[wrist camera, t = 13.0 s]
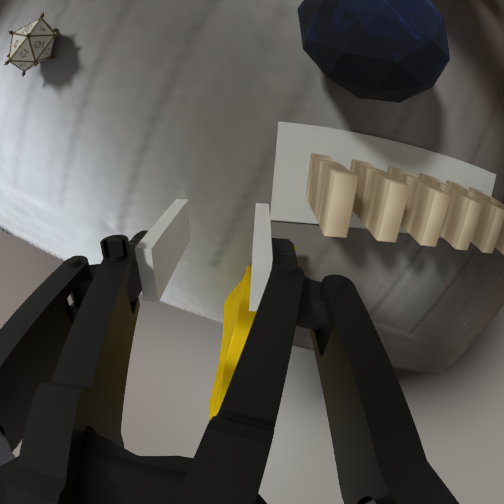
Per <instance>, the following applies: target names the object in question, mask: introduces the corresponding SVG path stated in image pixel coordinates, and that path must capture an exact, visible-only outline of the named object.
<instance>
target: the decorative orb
mask: <svg viewBox="0 0 504 504" xmlns="http://www.w3.org/2000/svg"><path fill="white" fill-rule="evenodd" d="M298 15H299V22H300V29H301V36H302V44H303V49H304V50H305V52H306V53H307V54H308V55H309V56H310V57H311V58H312V60H313V61H314V62H315V63H316V64H317V66H318V67H319V68H320V69H321V70H322V72H323V73H324V74H325V75H326V77H327V78H329V79H331V80H332V81H334V82H335V83H337V84H338V85H340V86H342V87H343V88H345V89H346V90H348V91H349V92H351V93H352V94H353V95H355V96H356V97H358V98H363V99H374V100H384V101H392V102H402V101H404V100H406V99H408V98H410V97H412V96H414V95H417V94H419V93H421V92H423V91H425V90H428V89H430V88H432V87H433V86H434V84H435V82H436V81H437V79H438V78H439V76H440V74H441V73H442V71H443V70H444V68H445V66H446V65H447V63H448V61H449V60H450V56H449V48H448V41H447V35H446V29H445V24H444V19H443V17H442V16H441V14H440V13H439V12H438V10H437V9H436V8H435V6H434V5H433V4H432V2H431V1H430V0H304V1H303V2H302V4H301V5H300V6H299V8H298Z"/></svg>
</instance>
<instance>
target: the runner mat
mask: <svg viewBox="0 0 504 504" xmlns="http://www.w3.org/2000/svg"><path fill="white" fill-rule="evenodd" d="M311 153H313V154H321V155H328V156H329V157H331V158H332V159H334V160H335V161H337V162H338V163H340V164H341V165H343V166H344V167H345V168H347V169H348V170H350V167H351V160H352V159H354V160H360V161H366V162H368V163H370V164H372V165H374V166H376V167H378V168H379V169H381V170H383V171H385V172H387V169H388V166H391V167H396V168H401V169H403V170H405V171H407V172H409V173H411V174H413V175H415V176H417V177H419V174H420V173H422V174H426V175H430V176H433V177H435V178H437V179H439V180H441V181H442V182H444V183H446V181H447V180H449V181H452V182H456V183H458V184H460V185H462V186H464V187H466V188H467V189H469V187H472V188H475V189H478V190H479V191H481V192H483V193H485V194H487V195H489V196H490V197H491V196H492V191H493V187H494V183H495V178H496V174H494V173H491V172H489V171H487V170H484V169H482V168H479V167H476V166H474V165H471V164H468V163H466V162H463V161H460V160H457V159H454V158H451V157H449V156H445V155H442V154H439V153H436V152H433V151H430V150H426V149H423V148H419V147H416V146H412V145H408V144H405V143H401V142H397V141H393V140H389V139H384V138H380V137H375V136H371V135H366V134H361V133H356V132H351V131H345V130H339V129H333V128H327V127H320V126H313V125H306V124H297V123H288V122H278V133H277V145H276V156H275V168H274V179H273V190H272V201H271V211H270V220H277V221H290V222H301V223H313V224H319V223H318V221H317V219H316V217H315V215H314V213H313V211H312V209H311V207H310V205H309V203H308V201H307V199H306V190H307V182H308V174H309V166H310V157H311ZM349 227H354V228H364V229H367V228H366V226H365V225H364V224H363V223H362V221H361V220H360V219H359V218H358V217H357V215H356V214H355V213H354V212H353V211H352V214H351V219H350V223H349ZM399 233H407V234H409V233H408V232H407V231H406V230H405V229H404V228H403V227H402V226H401V225H400V228H399ZM439 238H443V237H442V236H440V235H439Z"/></svg>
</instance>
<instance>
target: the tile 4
mask: <svg viewBox="0 0 504 504" xmlns="http://www.w3.org/2000/svg"><path fill="white" fill-rule="evenodd" d="M419 178H421V179H423V180H424V181H426V182H428V183H430V184H432V185H434V186H435V187H437V188H439V189H441V190H442V191H444V192H446V193H448V194H449V195H450V199H449V203H448V207H447V211H446V214H445V218H444V221H443V225H442V228H441V231H440V236H442V237H443V238H444V239H445V240H446V241H447V242H448V243H449V244H450V245H452V246H453V247H454V248H455V249H459V250H468V247H469V244H470V241H471V238H472V235H473V232H474V229H475V226H476V223H477V220H478V216H479V213H480V209H481V206H482V203H480V202H478V201H477V200H475V199H473V198H472V197H470V196H468V195H466V194H465V193H463V192H461V191H459V190H457V189H456V188H454V187H452V186H450V185H448V184H446V183H444V182H442V181H441V180H439V179H437V178H435V177H433V176H430V175H426V174H422V173H420V174H419Z"/></svg>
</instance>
